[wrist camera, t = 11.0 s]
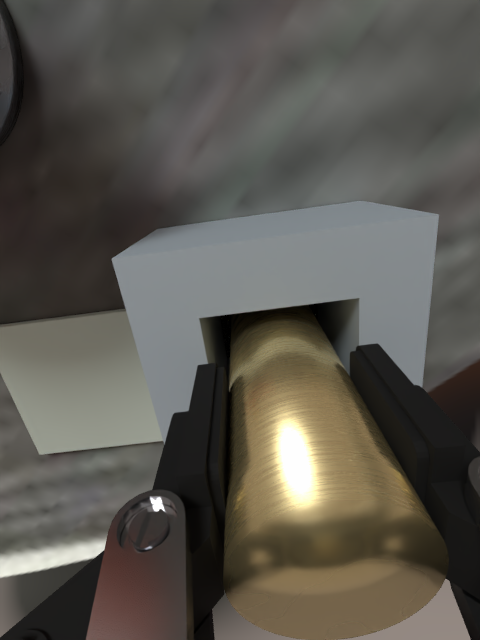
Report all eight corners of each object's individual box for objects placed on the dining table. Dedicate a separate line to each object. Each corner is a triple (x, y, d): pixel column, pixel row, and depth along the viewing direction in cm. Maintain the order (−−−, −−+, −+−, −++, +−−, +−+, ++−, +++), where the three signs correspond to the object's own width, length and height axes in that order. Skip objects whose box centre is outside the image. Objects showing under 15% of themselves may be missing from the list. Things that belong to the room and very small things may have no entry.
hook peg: (302, 269, 16) (463, 487, 5) (306, 338, 17) (437, 630, 6) (226, 279, 16) (205, 513, 5) (236, 346, 17) (238, 647, 6)
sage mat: (143, 306, 16) (141, 309, 16) (176, 434, 19) (175, 439, 19) (-15, 326, 17) (-21, 329, 16) (43, 449, 20) (39, 454, 19)
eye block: (361, 200, 15) (439, 214, 9) (359, 376, 18) (414, 464, 12) (157, 228, 15) (111, 259, 9) (194, 395, 18) (176, 489, 13)
